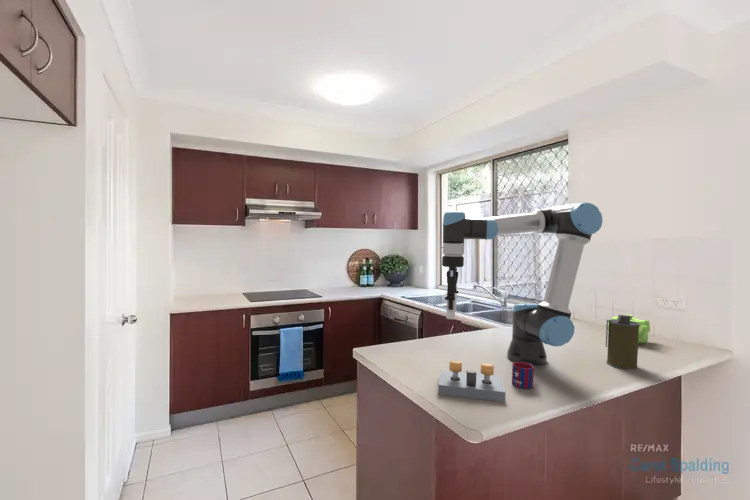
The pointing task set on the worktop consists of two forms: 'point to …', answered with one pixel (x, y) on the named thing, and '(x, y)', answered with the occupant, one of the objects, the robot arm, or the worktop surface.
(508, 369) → the worktop surface
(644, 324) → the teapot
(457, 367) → the knob
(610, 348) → the canister
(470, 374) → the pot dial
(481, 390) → the mount
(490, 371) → the knob
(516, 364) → the mug
